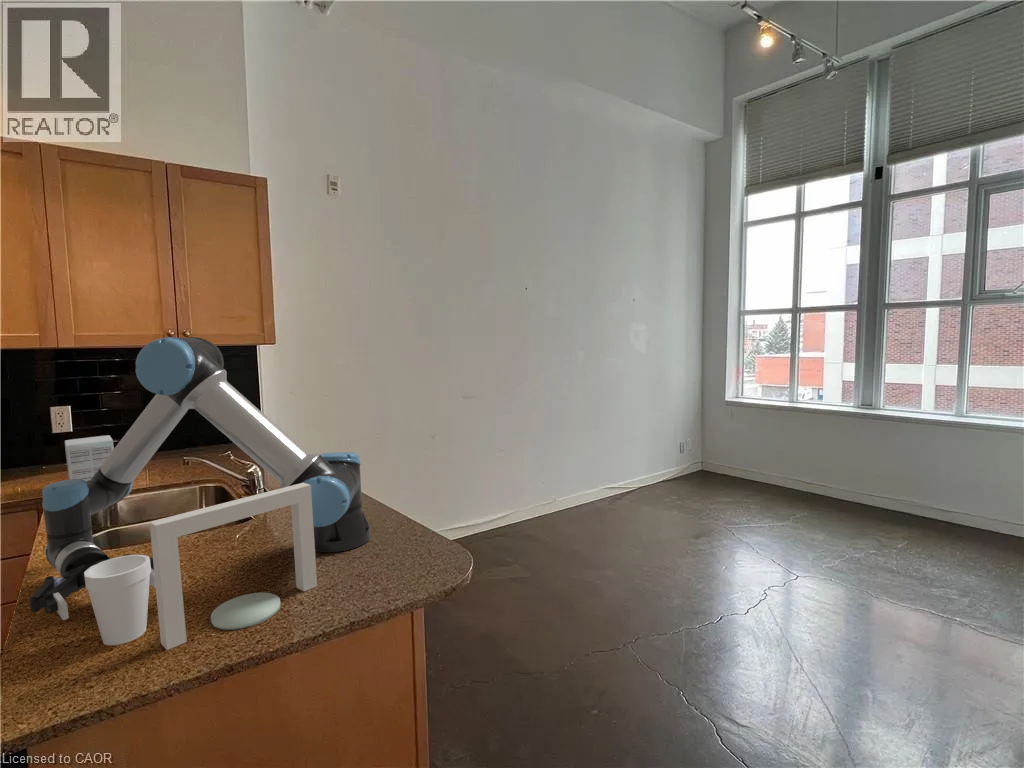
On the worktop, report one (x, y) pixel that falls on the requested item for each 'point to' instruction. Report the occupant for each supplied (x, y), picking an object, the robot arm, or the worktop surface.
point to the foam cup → (120, 597)
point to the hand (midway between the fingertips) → (113, 595)
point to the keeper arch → (167, 530)
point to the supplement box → (87, 455)
